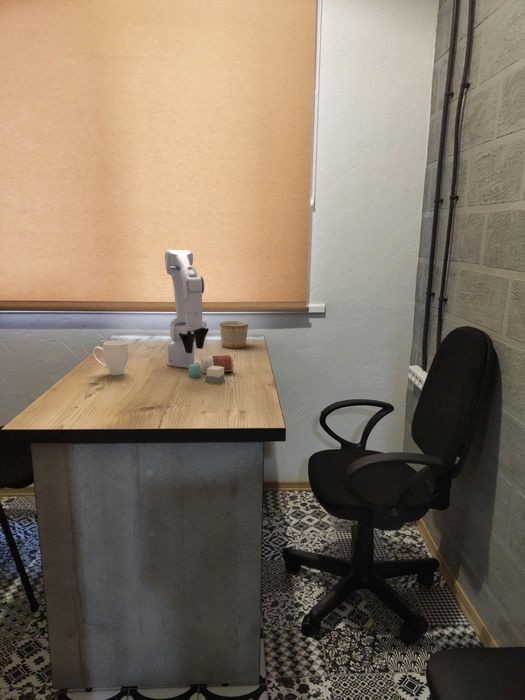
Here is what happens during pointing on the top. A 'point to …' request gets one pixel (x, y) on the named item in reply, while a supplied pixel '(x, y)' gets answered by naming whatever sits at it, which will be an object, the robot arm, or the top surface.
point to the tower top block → (215, 371)
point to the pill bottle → (218, 362)
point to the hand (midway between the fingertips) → (194, 350)
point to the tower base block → (214, 379)
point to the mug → (114, 356)
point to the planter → (233, 334)
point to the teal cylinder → (194, 370)
